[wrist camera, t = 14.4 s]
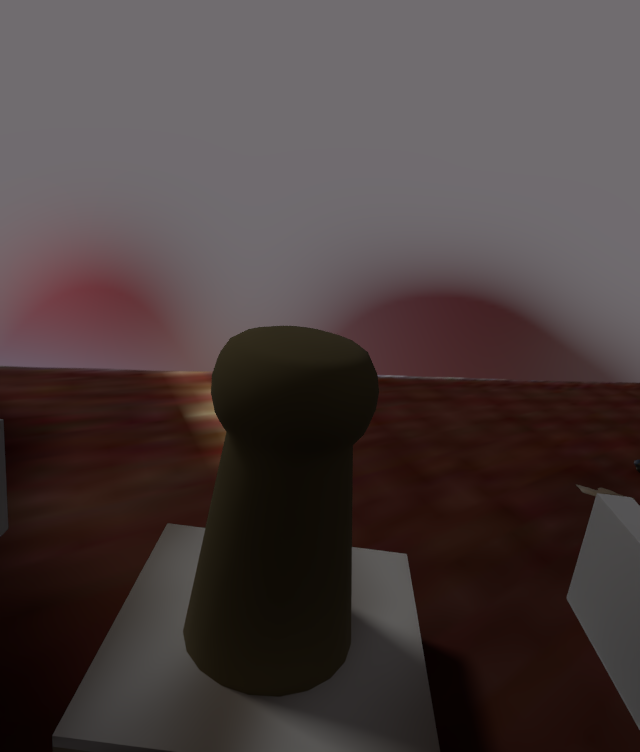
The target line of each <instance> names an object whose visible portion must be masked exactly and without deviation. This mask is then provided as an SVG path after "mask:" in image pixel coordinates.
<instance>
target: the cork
mask: <svg viewBox="0 0 640 752" xmlns="http://www.w3.org/2000/svg"><path fill="white" fill-rule="evenodd" d="M378 394H379V388H378V377H377V373H376V370H375V368H374V366H373V363H372V361H371V359H370V356H369V354H368V352H367V351H365V350H364V349H363V348H361V347H360V346H359V345H358V344H356V343H355V342H353V341H352V340H350V339H347V338H345V337H342V336H339V335H336V334H332V333H329V332H325V331H321V330H318V329H312V328H306V327H297V326H272V327H258V328H253V329H248V330H246V331H244V332H242V333H240V334H238V335H236V336H234V337H232V338H230V339H229V341H228V342H227V344H226V345H225V346H224V348H223V349H222V350H221V352H220V354H219V356H218V359H217V362H216V365H215V368H214V371H213V374H212V387H211V395H212V400H213V405H214V410H215V413H216V415H217V417H218V419H219V421H220V422H221V424H222V426H223V427H224V429H225V430H226V437H225V442H224V446H223V451H222V455H221V460H220V464H219V469H218V473H217V478H216V483H215V487H214V492H213V496H212V501H211V505H210V510H209V514H208V519H207V523H206V528H205V533H204V537H203V542H202V546H201V551H200V555H199V560H198V564H197V569H196V574H195V578H194V583H193V587H192V592H191V596H190V601H189V605H188V610H187V615H186V619H185V624H184V628H183V635H184V640H185V646H186V651H187V653H188V654H189V656H190V657H191V658H192V660H193V661H194V663H195V664H196V666H197V667H198V669H199V670H200V671H201V672H203V673H204V674H206V675H207V676H209V677H210V678H211V679H213V680H214V681H216V682H217V683H218V684H220V685H221V686H224V687H227V688H230V689H233V690H236V691H239V692H242V693H245V694H248V695H259V696H275V697H280V696H285V695H290V694H295V693H300V692H305V691H308V690H310V689H312V688H314V687H316V686H318V685H319V684H321V683H323V682H325V681H327V680H329V679H330V678H331V677H332V676H333V675H334V674H335V673H336V672H337V670H338V669H339V668H340V667H341V666H342V665H343V664H344V662H345V661H346V657H347V654H348V651H349V648H350V645H351V596H352V467H353V444H355V443H356V442H357V441H358V440H359V439H360V438H361V437H362V436H363V435H364V433H365V431H366V429H367V428H368V426H369V424H370V421H371V419H372V417H373V415H374V412H375V410H376V405H377V400H378Z"/></svg>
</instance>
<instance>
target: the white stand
mask: <svg viewBox="0 0 640 752" xmlns="http://www.w3.org/2000/svg"><path fill="white" fill-rule="evenodd" d="M204 533H205V528H199V527H192V526H184V525H176V524H167V526H166V527H165V529H164V531H163V533H162V535H161V537H160V538H159V540H158V542H157V544H156V546H155V548H154V549H153V551H152V553H151V555H150V557H149V559H148V560H147V562H146V564H145V566H144V568H143V570H142V572H141V573H140V575H139V577H138V579H137V581H136V583H135V584H134V586H133V588H132V590H131V592H130V594H129V595H128V597H127V599H126V601H125V603H124V605H123V606H122V608H121V610H120V612H119V614H118V616H117V618H116V619H115V621H114V623H113V625H112V627H111V629H110V630H109V632H108V634H107V636H106V638H105V640H104V641H103V643H102V645H101V647H100V649H99V651H98V652H97V654H96V656H95V658H94V660H93V662H92V663H91V665H90V667H89V669H88V671H87V673H86V675H85V676H84V678H83V680H82V682H81V684H80V686H79V687H78V689H77V691H76V693H75V695H74V697H73V698H72V700H71V702H70V704H69V706H68V708H67V709H66V711H65V713H64V715H63V717H62V719H61V721H60V722H59V724H58V726H57V728H56V730H55V732H54V733H53V735H52V745H53V752H440V748H439V742H438V736H437V730H436V724H435V718H434V712H433V706H432V700H431V695H430V689H429V683H428V677H427V671H426V665H425V659H424V653H423V647H422V641H421V635H420V629H419V624H418V618H417V612H416V606H415V600H414V594H413V588H412V582H411V576H410V570H409V564H408V558H407V554H402V553H394V552H386V551H378V550H371V549H363V548H355V547H352V596H351V645H350V648H349V651H348V654H347V657H346V661H345V662H344V664H343V665H342V666H341V667H340V668H339V669H338V670H337V672H336V673H335V674H334V675H333V676H332V677H331V678H330V679H329V680H327V681H325V682H323V683H321V684H319V685H318V686H316V687H314V688H312V689H310V690H308V691H305V692H300V693H295V694H290V695H285V696H280V697H275V696H259V695H248V694H245V693H242V692H239V691H236V690H233V689H230V688H227V687H224V686H221V685H220V684H218V683H217V682H216V681H214V680H213V679H211V678H210V677H209V676H207V675H206V674H204V673H203V672H201V671H200V670H199V669H198V667H197V666H196V664H195V663H194V661H193V660H192V658H191V657H190V656H189V654H188V653H187V651H186V646H185V640H184V635H183V628H184V624H185V619H186V615H187V610H188V605H189V601H190V596H191V592H192V587H193V583H194V578H195V574H196V569H197V564H198V560H199V555H200V551H201V546H202V542H203V537H204Z"/></svg>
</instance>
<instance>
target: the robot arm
mask: <svg viewBox="0 0 640 752" xmlns="http://www.w3.org/2000/svg"><path fill="white" fill-rule="evenodd" d="M7 530H8V508H7V486H6V465H5V443H4V421H3V419H0V536H2V535H3V534H4V533H5V532H6V531H7ZM567 600H568V602H569V604H570V605H571V607H572V609H573V611H574V613H575V614H576V616H577V618H578V620H579V622H580V623H581V625H582V627H583V629H584V631H585V632H586V634H587V636H588V638H589V640H590V641H591V643H592V645H593V647H594V649H595V650H596V652H597V654H598V656H599V658H600V659H601V661H602V663H603V665H604V667H605V668H606V670H607V672H608V674H609V676H610V677H611V679H612V681H613V683H614V685H615V687H616V688H617V690H618V692H619V694H620V696H621V697H622V699H623V701H624V703H625V705H626V706H627V708H628V710H629V712H630V714H631V715H632V717H633V719H634V721H635V723H636V724H637V726H638V728H639V730H640V506H639V505H638V504H637V503H636V502H635V501H634V499H633V498H631V497H623V496H615V495H607V494H599V493H597V495H596V498H595V502H594V505H593V509H592V512H591V516H590V519H589V523H588V526H587V529H586V533H585V536H584V540H583V543H582V547H581V550H580V554H579V557H578V560H577V564H576V567H575V571H574V574H573V578H572V581H571V585H570V588H569V592H568V595H567Z"/></svg>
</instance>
